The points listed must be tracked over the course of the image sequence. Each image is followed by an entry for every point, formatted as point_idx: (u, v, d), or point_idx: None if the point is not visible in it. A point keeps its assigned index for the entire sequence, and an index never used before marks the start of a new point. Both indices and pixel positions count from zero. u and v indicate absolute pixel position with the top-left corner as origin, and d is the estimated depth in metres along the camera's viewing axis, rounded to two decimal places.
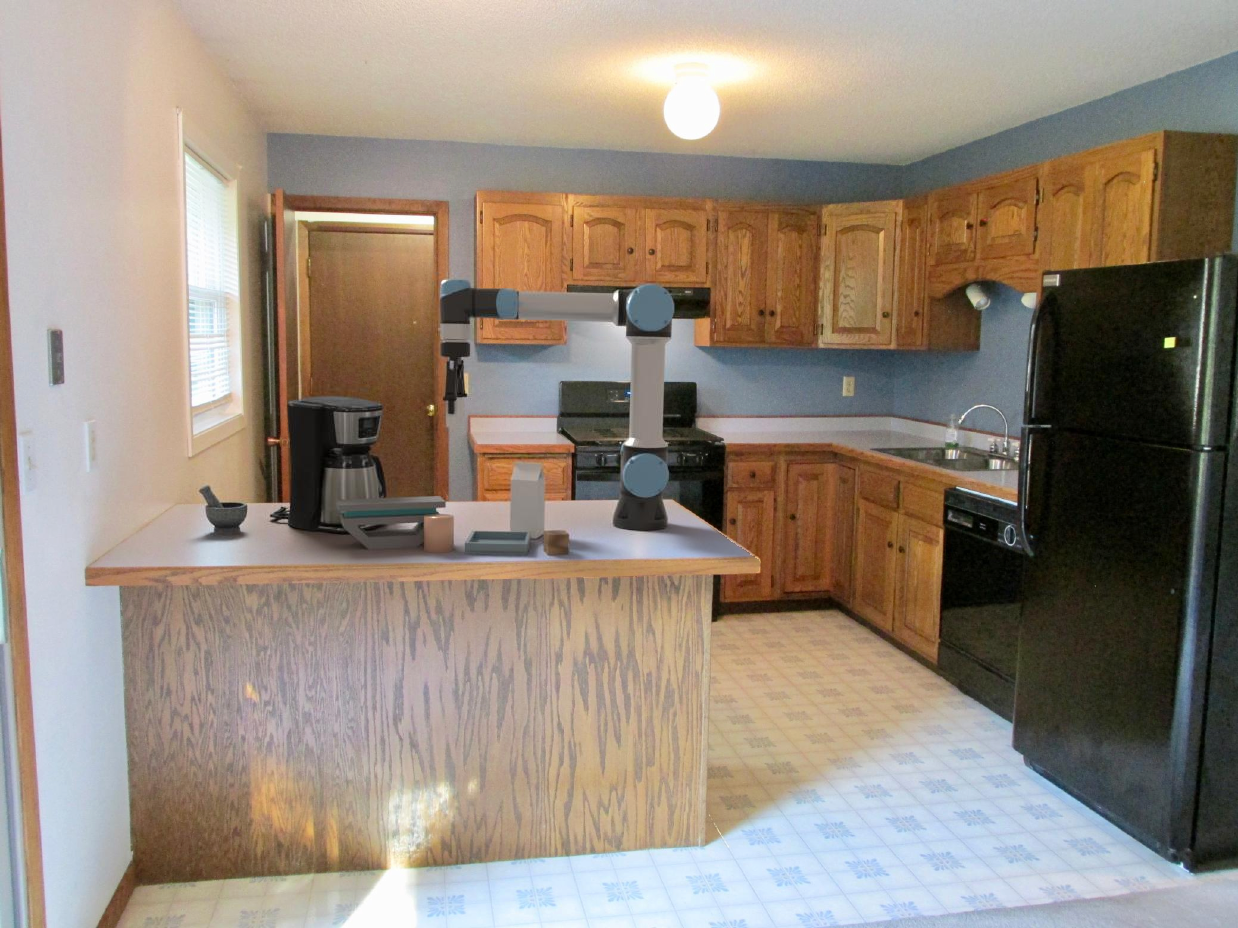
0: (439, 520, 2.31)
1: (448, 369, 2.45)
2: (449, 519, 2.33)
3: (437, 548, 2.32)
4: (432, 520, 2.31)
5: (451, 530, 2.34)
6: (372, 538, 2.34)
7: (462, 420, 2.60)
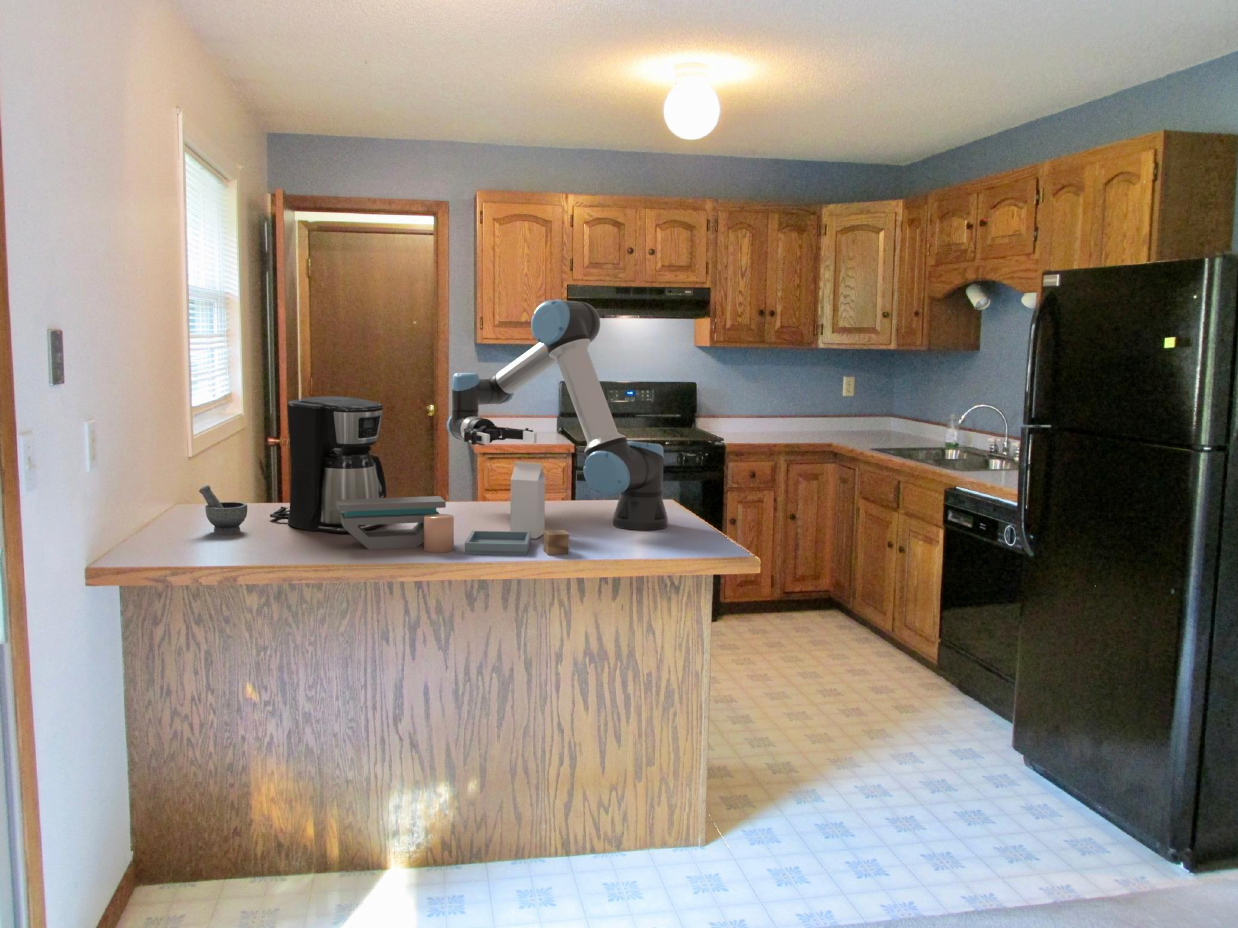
0: (439, 520, 2.31)
1: None
2: (449, 519, 2.33)
3: (437, 548, 2.32)
4: (432, 520, 2.31)
5: (451, 530, 2.34)
6: (372, 538, 2.34)
7: (533, 434, 2.63)
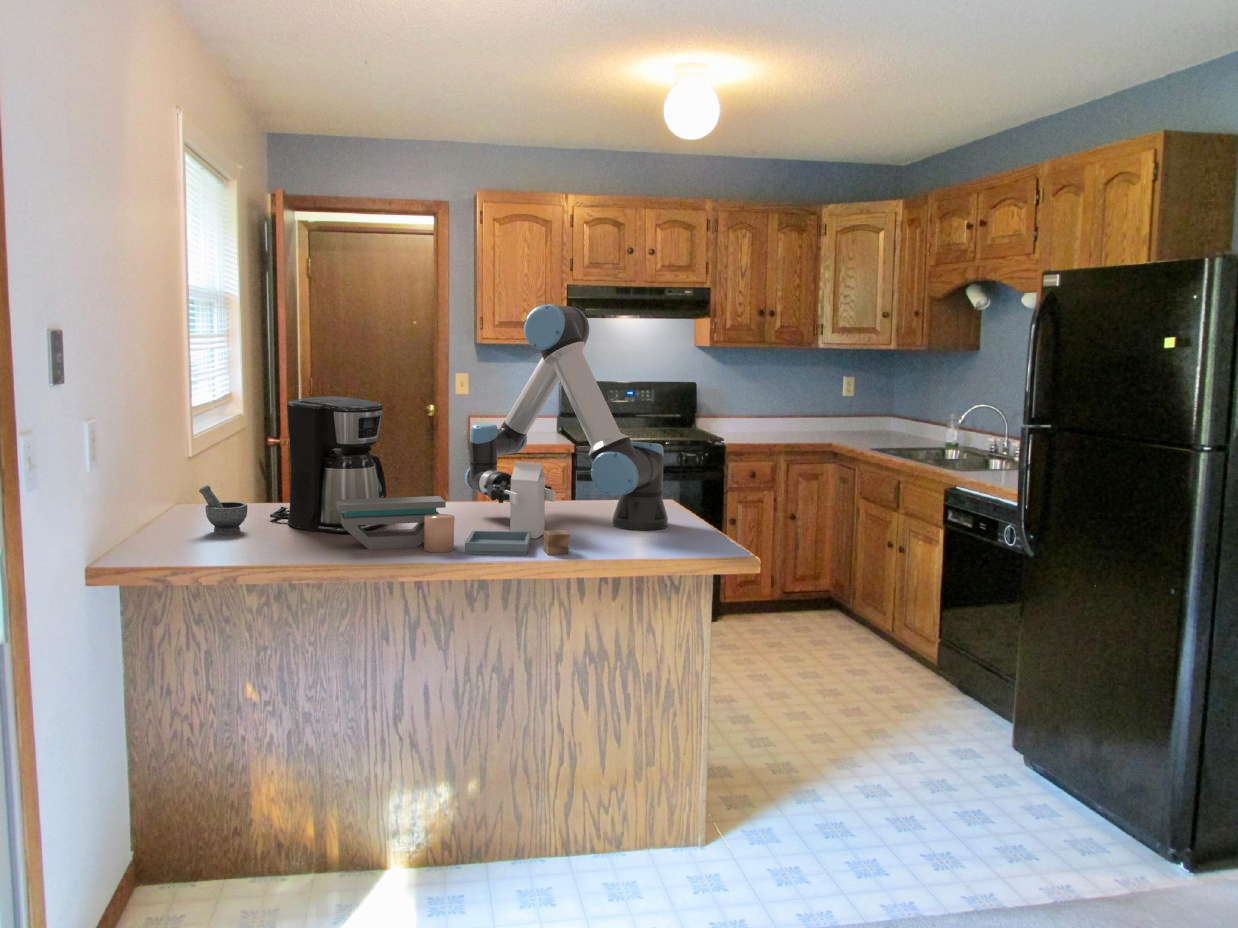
0: (439, 520, 2.31)
1: (487, 493, 2.58)
2: (449, 519, 2.33)
3: (437, 548, 2.32)
4: (432, 520, 2.31)
5: (451, 530, 2.34)
6: (372, 538, 2.34)
7: (551, 492, 2.52)
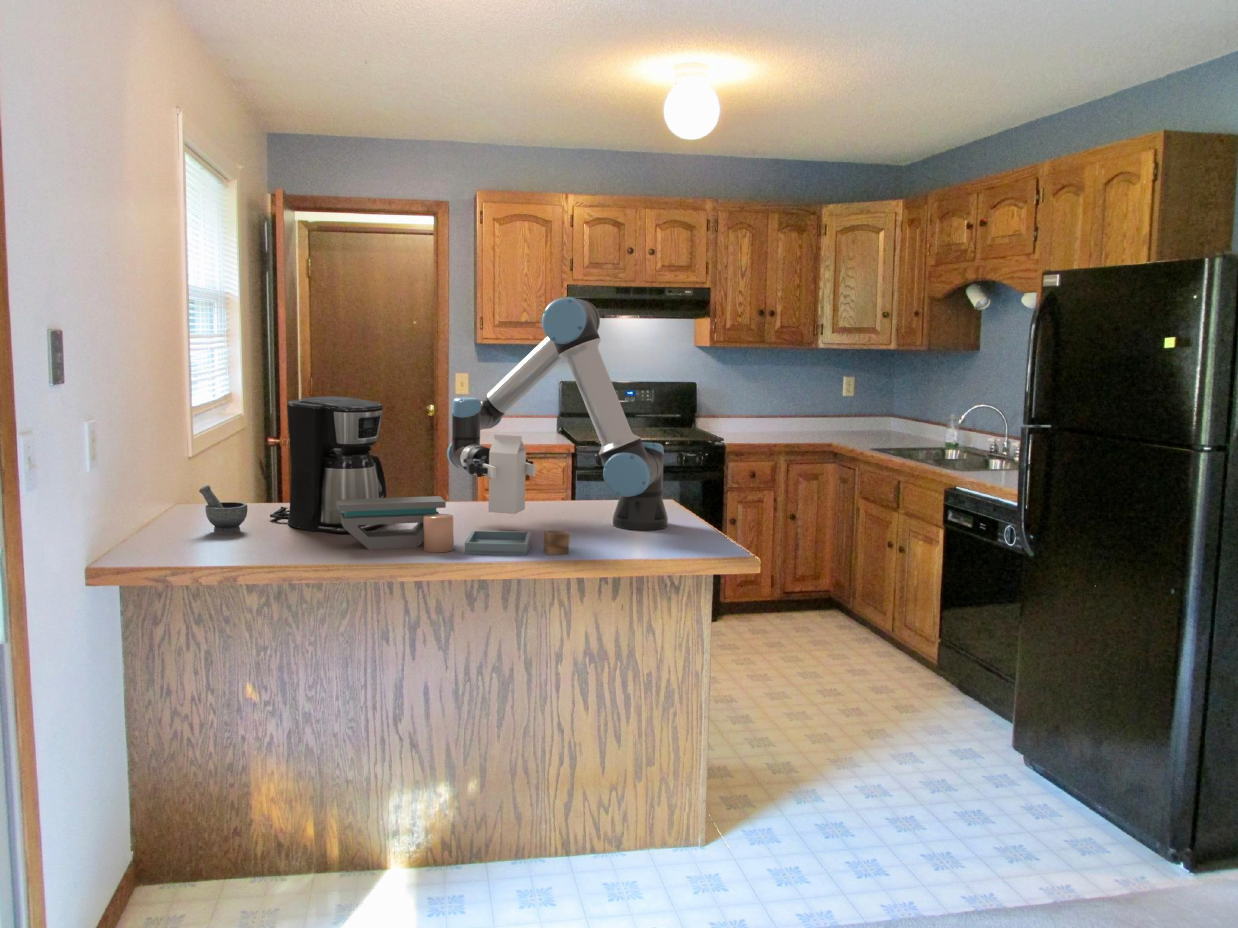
0: (438, 520, 2.31)
1: (466, 467, 2.50)
2: (448, 519, 2.33)
3: (436, 548, 2.32)
4: (431, 520, 2.31)
5: (450, 530, 2.34)
6: (372, 538, 2.34)
7: (532, 466, 2.43)
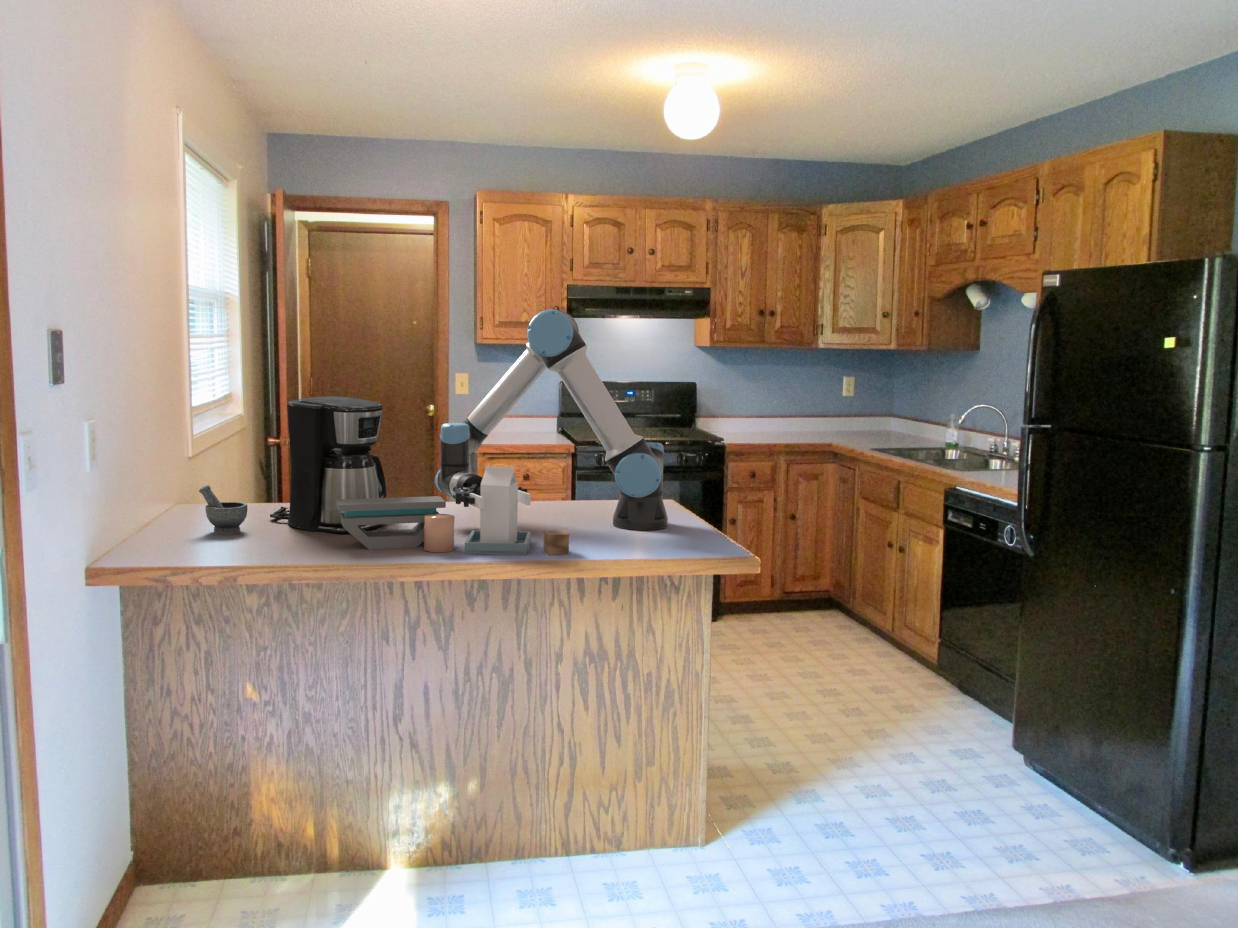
0: (438, 520, 2.31)
1: (455, 496, 2.43)
2: (449, 519, 2.33)
3: (436, 548, 2.32)
4: (431, 519, 2.32)
5: (451, 530, 2.34)
6: (372, 538, 2.34)
7: (526, 495, 2.38)
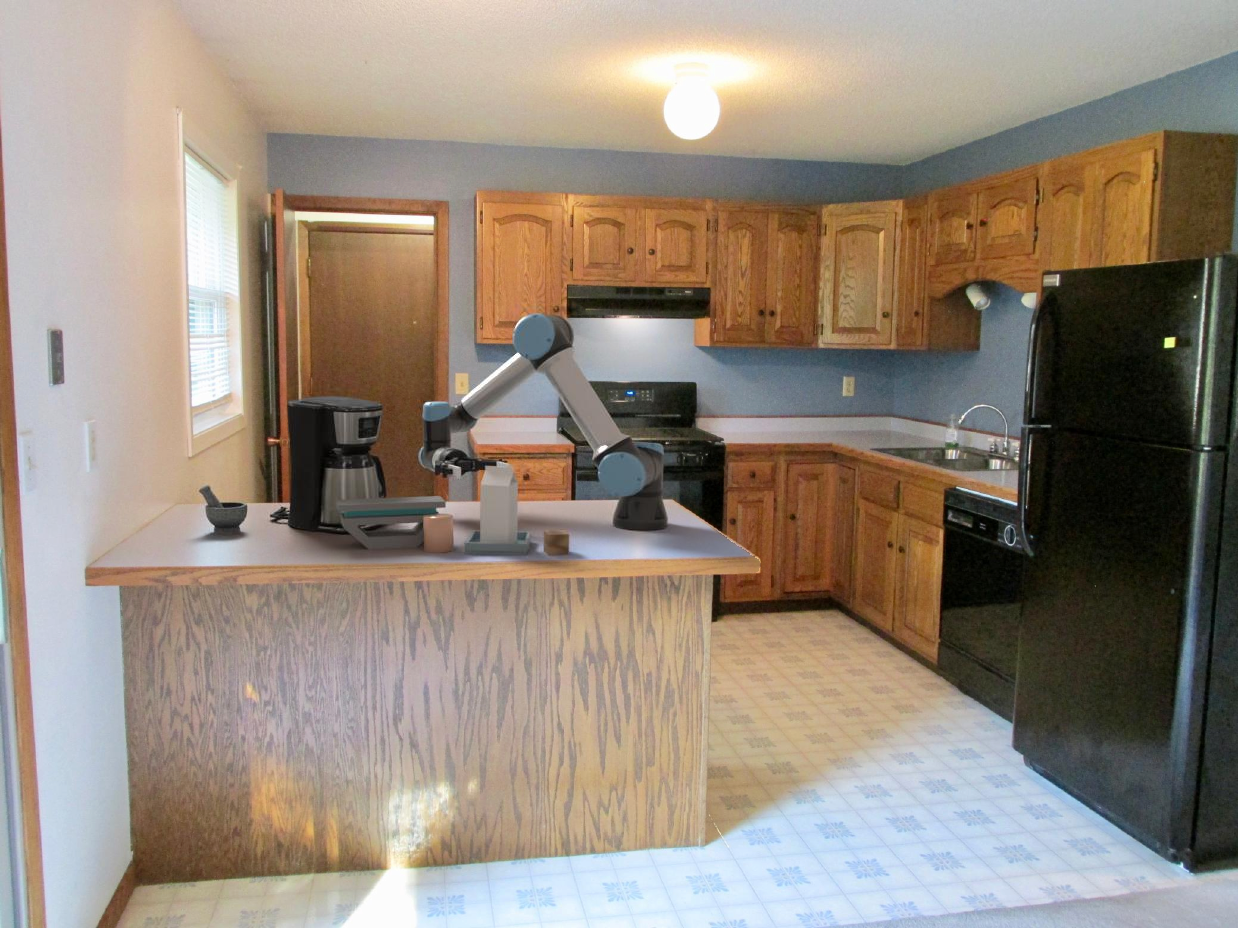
0: (436, 520, 2.31)
1: None
2: (447, 519, 2.32)
3: (435, 548, 2.32)
4: (429, 520, 2.31)
5: (449, 530, 2.33)
6: (372, 538, 2.34)
7: (506, 465, 2.52)
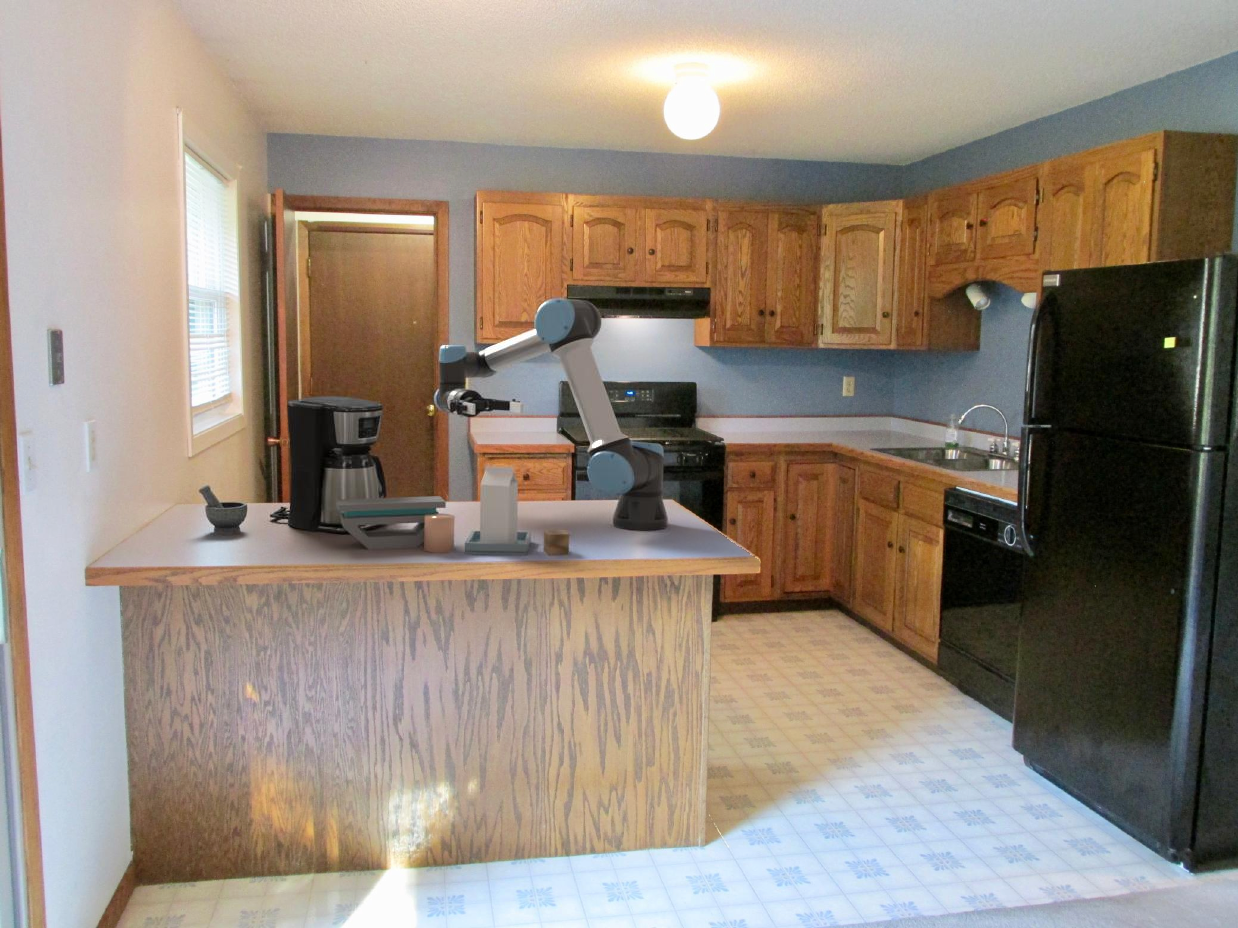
0: (437, 520, 2.31)
1: None
2: (448, 520, 2.32)
3: (435, 548, 2.32)
4: (430, 520, 2.32)
5: (450, 531, 2.33)
6: (372, 538, 2.34)
7: (519, 404, 2.60)
